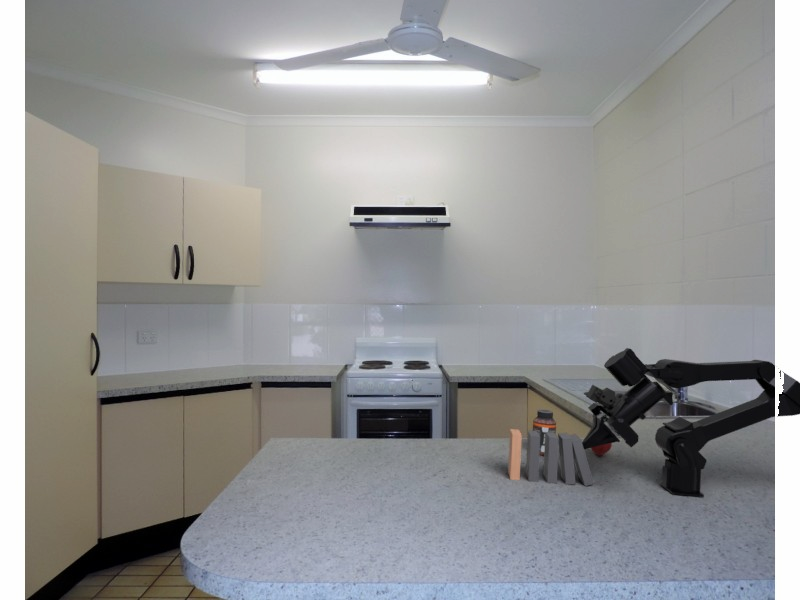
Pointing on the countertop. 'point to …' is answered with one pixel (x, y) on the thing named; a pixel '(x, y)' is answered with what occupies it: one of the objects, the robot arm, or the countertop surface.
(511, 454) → the domino
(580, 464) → the domino
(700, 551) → the countertop surface
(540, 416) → the supplement bottle
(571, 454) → the domino
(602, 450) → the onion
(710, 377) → the robot arm
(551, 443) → the domino
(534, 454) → the domino
